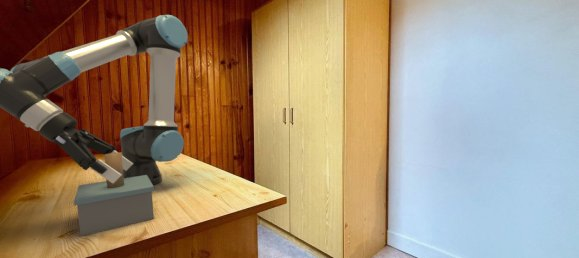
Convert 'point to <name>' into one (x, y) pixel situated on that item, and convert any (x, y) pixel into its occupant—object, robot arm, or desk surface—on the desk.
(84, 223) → the storage box
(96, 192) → the lid
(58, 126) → the robot arm
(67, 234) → the desk surface
